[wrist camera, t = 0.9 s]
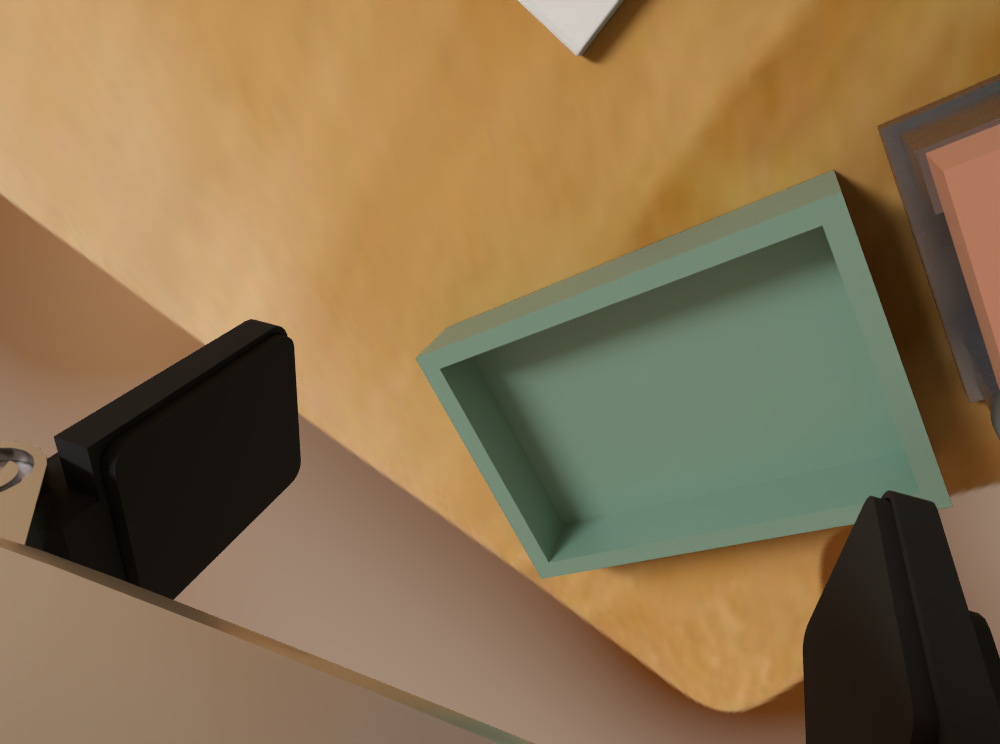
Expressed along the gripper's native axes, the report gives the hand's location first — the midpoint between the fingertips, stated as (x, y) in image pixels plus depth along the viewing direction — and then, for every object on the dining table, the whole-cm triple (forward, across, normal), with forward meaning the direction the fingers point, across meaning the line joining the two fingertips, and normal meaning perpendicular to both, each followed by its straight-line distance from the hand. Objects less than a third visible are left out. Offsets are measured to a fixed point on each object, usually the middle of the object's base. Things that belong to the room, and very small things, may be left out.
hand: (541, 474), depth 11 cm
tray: (+25, -1, +11) cm, 27 cm away
